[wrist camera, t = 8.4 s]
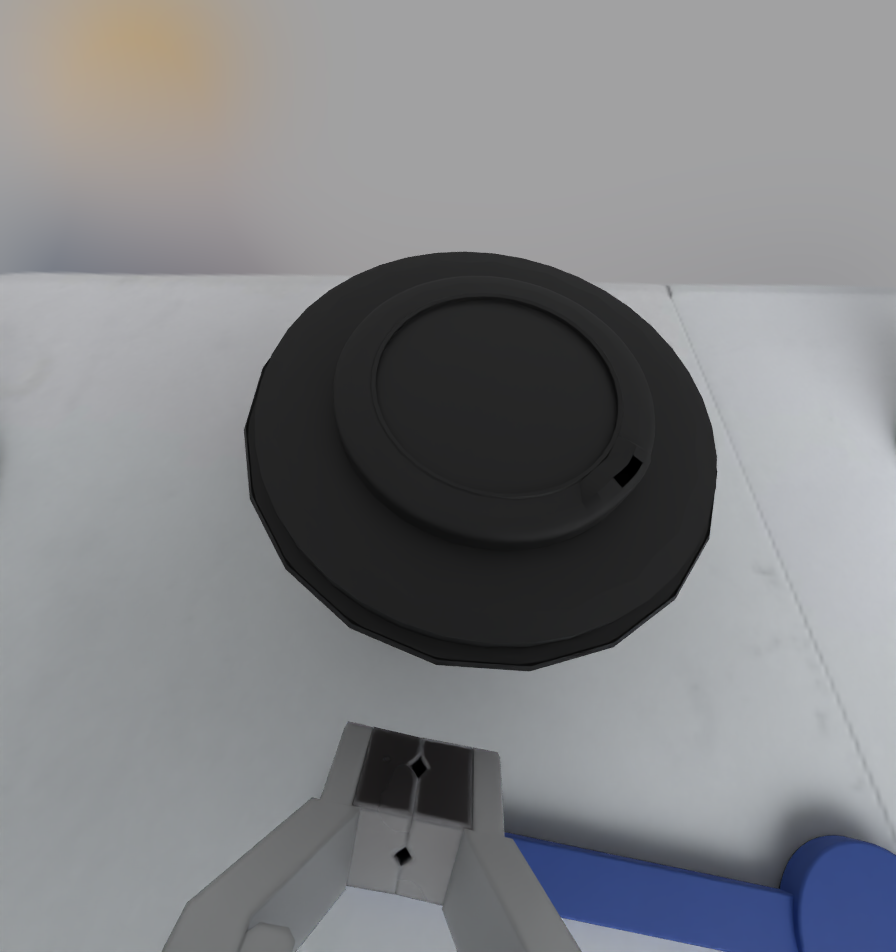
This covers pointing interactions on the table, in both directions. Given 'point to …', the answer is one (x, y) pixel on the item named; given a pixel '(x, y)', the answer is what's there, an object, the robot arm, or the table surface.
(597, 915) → the spoon
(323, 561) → the coffee cup
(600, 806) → the table surface
